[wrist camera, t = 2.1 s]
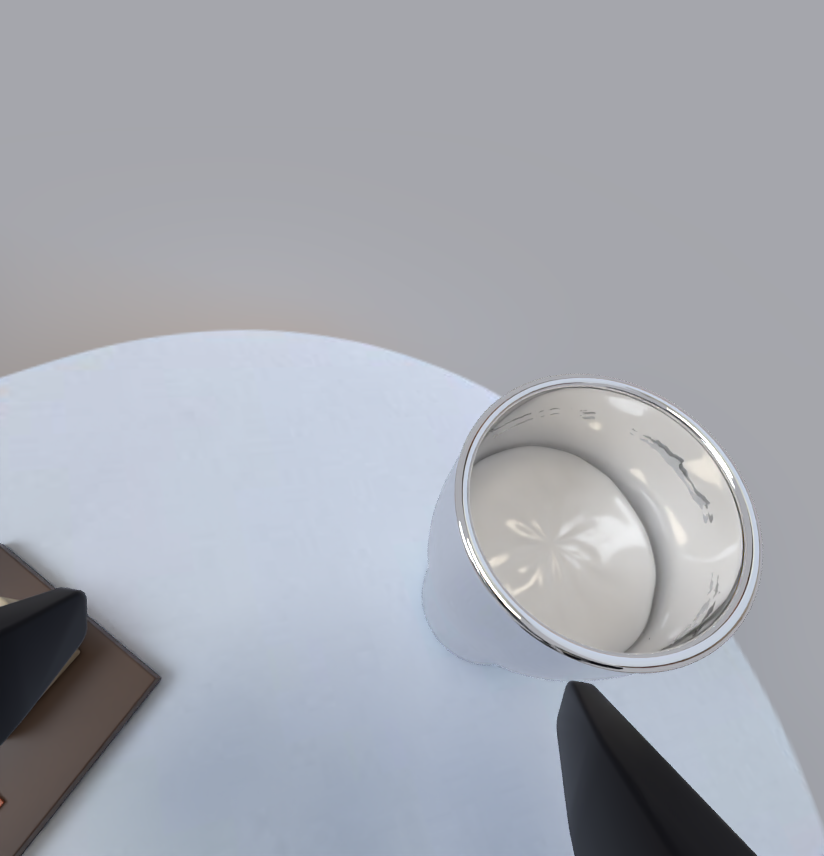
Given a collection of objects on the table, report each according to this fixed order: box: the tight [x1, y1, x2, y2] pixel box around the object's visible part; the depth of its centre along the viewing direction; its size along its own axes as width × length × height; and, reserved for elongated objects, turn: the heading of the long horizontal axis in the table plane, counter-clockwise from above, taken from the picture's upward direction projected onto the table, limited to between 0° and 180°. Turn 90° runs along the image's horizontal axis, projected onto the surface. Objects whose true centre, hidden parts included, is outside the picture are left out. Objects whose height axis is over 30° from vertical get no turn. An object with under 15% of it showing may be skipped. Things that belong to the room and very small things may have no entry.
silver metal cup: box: [422, 374, 763, 682], centre depth 17 cm, size 7×7×15 cm
